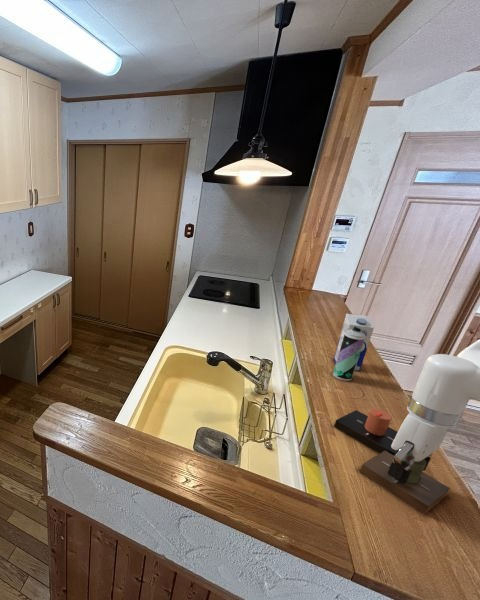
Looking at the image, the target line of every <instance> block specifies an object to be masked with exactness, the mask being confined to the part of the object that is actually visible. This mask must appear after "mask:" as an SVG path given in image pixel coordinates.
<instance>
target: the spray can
mask: <svg viewBox="0 0 480 600" xmlns="http://www.w3.org/2000/svg"><path fill="white" fill-rule="evenodd" d="M364 339H365V334H364V333H362V331H361V330H360V327H359V326H354V328H353V329H351V330H347V331H346V332H345V334H344V338H343V341H342V345H341V348H340V351H339V355H338V358H337V362H336V363H335V366H334V369H333V372H332V376H333V377H334V378H335V379H338V380H340V381H344V382H350V381H352V380H353V377H354V373H355V371H356V370H355V368H356V364H357V361H358V358H359V355H360V352H361V349H362V346H363V343H364Z"/></svg>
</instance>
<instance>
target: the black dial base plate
mask: <svg viewBox="0 0 480 600" xmlns="http://www.w3.org/2000/svg"><path fill="white" fill-rule="evenodd" d="M367 418H368V415H367V414H365V413H362V412H361V411H359V410H357V409H356V410H352V411H351V412H348V413H347V414H345V415H343V416H341V417H339V418H337V419H336V420H335V422H334V425H333V427H334V428H336V429H337V430H339V431H341V432H342V433H344V434H346V435H347V436H349V437H351V438H353V439H354V440H355V441H356V442H357V441H358V442H359V443H361V444H362V445H364V446H366V447H367V448H369V449H371V450H373V451H374V452H376V453H377V454H380V453H382V452H383V451H387V452H389V453H390V454H392V455H394V456H395V455H396V454H397V452H398V451H399V450H400V449H398V450H394V449H392V448H391V445H392V443H393V441H394V439H395V437H396V435H397V433H398V430H395V429H394V428H391V427H390V426H388V429H387V431H386V434H385V435H384V436H378V435H375V434H372V433H370V432H369V431H367V430H366V429H365V427H364V426H365V423H366V420H367Z"/></svg>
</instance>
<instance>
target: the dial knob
mask: <svg viewBox="0 0 480 600" xmlns="http://www.w3.org/2000/svg"><path fill="white" fill-rule="evenodd" d="M367 416H368V418H367V420H366V423H365V426H364V427H365V429H366V430H367V431H369V432H370V433H372V434H375V435H378V436H384V435H385V434H386V431H387V429H388V427H390V424H391V421H392V419H393V416H392V415H391V414H390V413H388V412H387V411H385V410H382V409H379V408H370V410H369V412H368V415H367Z"/></svg>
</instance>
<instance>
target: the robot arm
mask: <svg viewBox="0 0 480 600" xmlns="http://www.w3.org/2000/svg"><path fill="white" fill-rule="evenodd" d="M470 400H473V401H475V402H479V403H480V339H477V340H476V341H475V342H473V343H471V344H469V345H468V346H467V347H465V348H464V349H462V350H461V351H459V353H458V354H457V355H451V354H446V353H435V354H431V355H429V356H428V357H427V358H426V360H425V362H424V365H423V367H422V370H421V372H420V374H419V377H418V379H417V382H416V384H415V387H414V389H413V392H412V394H411V396H410V399H409V402H408V404H407V407H406V409H407V412H408V414H407V415H406V417H405V418H404V420H403V422H402V423H401V425H400V427H399V429H398V430H397V432H398V433H397V435H396V437H395V439H394V441H393V443H392V445H391V448H392V449H394V450H398V449H400V450H399V451H398V452H397V454H396V455H395V456H394V458H393V461H392V463H391V466H390V468H389V470H388V474H389V475H390V476H391V477H393V478H395V479H396V480H398V481H399V482H401V483H403V484H405V483H406V482H407V480H408V478H409V476H410V474H411V471H412V470H410V468H411V467H412V465H413V464H414V462H419V461H421V460H423V459H425V461H426V465H425V467H424V469H423V472H425V471H426V469H427V468H428V465H429V463H430V461H431V459H432V455H434V453H435V452H436V451H438V450H439V448H440V446H441V445H442V443H443V441H444V439H445V437H446V434H447V432H448V429H455V428H456V427H457V426H458V424H459V422H460V420H461V418H462V416H463V414H464V411H465V409H466V407H467V406H468V403H469V402H470ZM409 453H412V454H413V457H411V456H410V455H408V454H409ZM406 457H407V458H409V459H411V460H410V461H409V463H408V464H407V463H406V462H405V458H406Z"/></svg>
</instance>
